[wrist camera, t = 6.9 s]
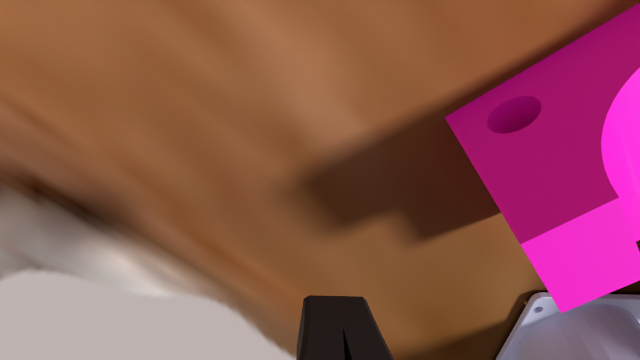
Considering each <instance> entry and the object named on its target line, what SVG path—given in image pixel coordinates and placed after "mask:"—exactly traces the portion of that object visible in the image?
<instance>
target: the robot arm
mask: <svg viewBox="0 0 640 360" xmlns="http://www.w3.org/2000/svg"><path fill="white" fill-rule="evenodd" d="M297 360H394V358H393V357H392V355H391V353H390V351H389V349H388V347H387V345H386V343H385V341H384V339H383V337H382V335H381V333H380V331H379V328H378V326H377V324H376V322H375V320H374V318H373V315H372V313H371V311H370V308H369V306H368V304H367V301H366V300H365V299H364V298H363V297H349V296H308V297H306V298H304V301H303V308H302V315H301V322H300V329H299V336H298V343H297ZM496 360H640V295H626V294H606V295H604V296H601V297H599V298H597V299H594V300H592V301H589V302H587V303H585V304H582V305H580V306H578V307H575V308H573V309H571V310H568V311H566V312H563V313H561V312H560V310H559V308H558V307H557V305H556V303H555V302H554V300H553V298H552V297H551V295H550V293H548V292H540V293H536V294H534V295H533V296H532V297H531V298H530V300H529V301H528V303H527V305H526V307H525V309H524V310H523V312H522V314H521V316H520V317H519V319H518V321H517V323H516V324H515V326H514V328H513V330H512V331H511V333H510V335H509V337H508V339H507V340H506V342H505V344H504V346H503V347H502V349H501V351H500V353H499V354H498V356H497V358H496Z"/></svg>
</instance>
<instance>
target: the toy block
mask: <svg viewBox="0 0 640 360" xmlns="http://www.w3.org/2000/svg"><path fill="white" fill-rule="evenodd" d="M445 119H446V121H447V122H448V124H449V126H450V127H451V129H452V131H453V132H454V134H455V136H456V137H457V139H458V141H459V142H460V144H461V146H462V147H463V149H464V151H465V152H466V154H467V156H468V157H469V159H470V161H471V163H472V164H473V166H474V168H475V169H476V171H477V173H478V174H479V176H480V178H481V179H482V181H483V183H484V184H485V186H486V188H487V189H488V191H489V193H490V194H491V196H492V198H493V199H494V201H495V203H496V204H497V206H498V208H499V209H500V211H501V213H502V214H503V216H504V218H505V220H506V221H507V223H508V225H509V226H510V228H511V230H512V231H513V233H514V235H515V236H516V238H517V240H518V241H519V243H520V245H521V246H522V248H523V250H524V251H525V253H526V255H527V256H528V258H529V260H530V261H531V263H532V265H533V266H534V268H535V270H536V271H537V273H538V275H539V276H540V278H541V280H542V281H543V283H544V285H545V286H546V288H547V290H548V292H549V293H550V295H551V297H552V298H553V300H554V302H555V303H556V305H557V307H558V308H559V310H560V312H561V313H563V312H566V311H568V310H571V309H573V308H575V307H578V306H580V305H582V304H585V303H587V302H589V301H592V300H594V299H597V298H599V297H601V296H604V295H606V294H608V293H611V292H613V291H615V290H618V289H620V288H623V287H625V286H627V285H630V284H632V283H634V282H637V281H639V280H640V252H639V249H638V246H637V244H636V241H639V240H640V3H638V4H636V5H635V6H633V7H631V8H630V9H628V10H626V11H625V12H623V13H621V14H619V15H618V16H616V17H614V18H613V19H611V20H609V21H608V22H606V23H604V24H602V25H601V26H599V27H597V28H596V29H594V30H592V31H591V32H589V33H587V34H585V35H584V36H582V37H580V38H579V39H577V40H575V41H574V42H572V43H570V44H568V45H567V46H565V47H563V48H562V49H560V50H558V51H557V52H555V53H553V54H551V55H550V56H548V57H546V58H545V59H543V60H541V61H540V62H538V63H536V64H534V65H533V66H531V67H529V68H528V69H526V70H524V71H523V72H521V73H519V74H517V75H516V76H514V77H512V78H511V79H509V80H507V81H506V82H504V83H502V84H500V85H499V86H497V87H495V88H494V89H492V90H490V91H489V92H487V93H485V94H483V95H482V96H480V97H478V98H477V99H475V100H473V101H472V102H470V103H468V104H466V105H465V106H463V107H461V108H460V109H458V110H456V111H455V112H453V113H451V114H449V115H448V116H446V117H445Z"/></svg>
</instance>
